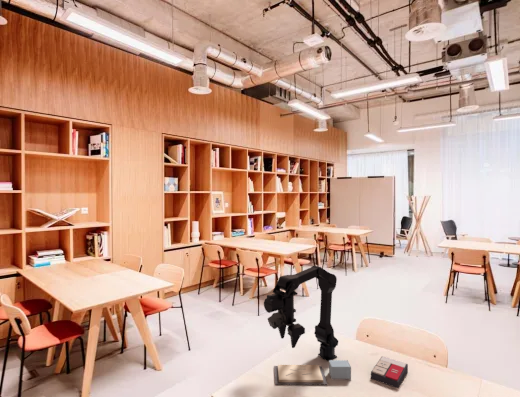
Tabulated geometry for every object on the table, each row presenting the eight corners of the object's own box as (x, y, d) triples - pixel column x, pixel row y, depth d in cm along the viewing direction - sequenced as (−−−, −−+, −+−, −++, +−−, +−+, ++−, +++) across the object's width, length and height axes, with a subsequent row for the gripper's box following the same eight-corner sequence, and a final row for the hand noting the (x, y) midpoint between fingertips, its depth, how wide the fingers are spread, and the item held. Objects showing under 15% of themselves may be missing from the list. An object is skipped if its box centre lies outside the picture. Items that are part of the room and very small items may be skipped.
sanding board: (321, 367, 139) (321, 363, 139) (327, 385, 126) (327, 381, 126) (274, 367, 140) (274, 363, 140) (275, 385, 127) (275, 381, 127)
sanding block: (347, 372, 135) (347, 360, 135) (351, 379, 130) (351, 366, 130) (329, 372, 135) (329, 360, 135) (331, 379, 130) (331, 366, 130)
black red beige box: (370, 370, 131) (381, 354, 143) (370, 380, 131) (382, 363, 143) (398, 380, 124) (407, 362, 136) (398, 390, 124) (408, 371, 136)
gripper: (260, 302, 138) (261, 337, 139) (280, 318, 121) (281, 358, 122) (282, 298, 143) (283, 332, 144) (305, 312, 126) (305, 351, 127)
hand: (287, 342), depth 134 cm, fingers open, 9 cm apart
